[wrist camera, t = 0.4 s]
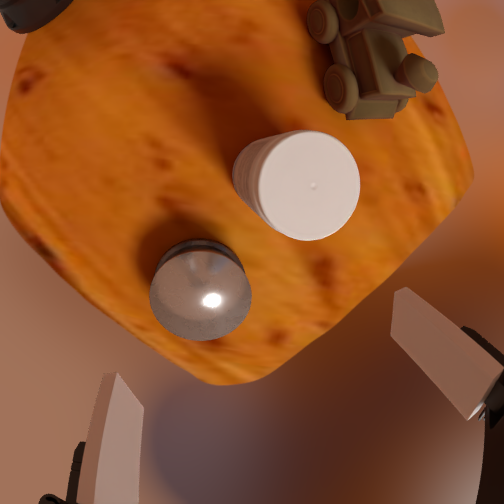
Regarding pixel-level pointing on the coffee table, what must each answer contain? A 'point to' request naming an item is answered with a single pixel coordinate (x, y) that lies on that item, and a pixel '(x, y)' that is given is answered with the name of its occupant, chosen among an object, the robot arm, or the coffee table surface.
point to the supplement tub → (298, 182)
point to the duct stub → (200, 290)
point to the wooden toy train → (374, 53)
